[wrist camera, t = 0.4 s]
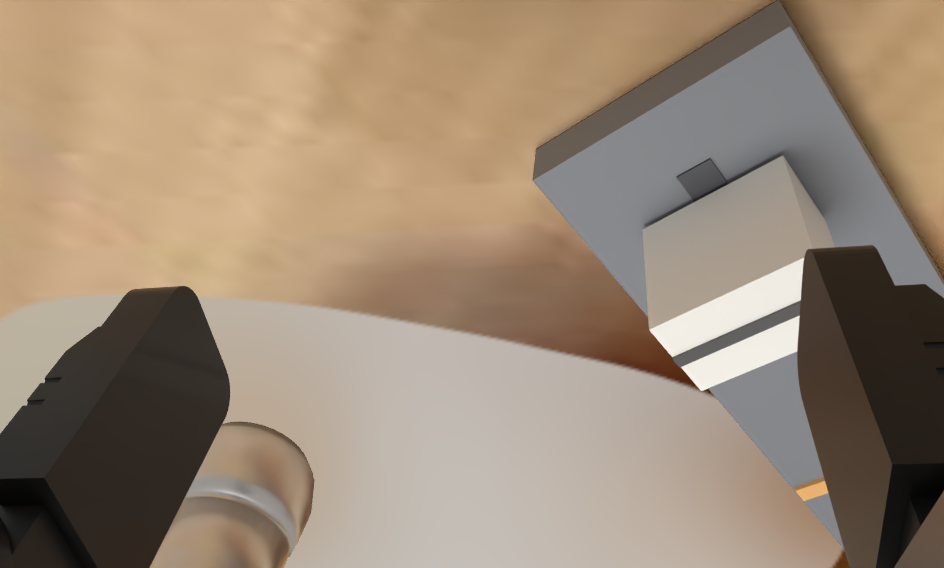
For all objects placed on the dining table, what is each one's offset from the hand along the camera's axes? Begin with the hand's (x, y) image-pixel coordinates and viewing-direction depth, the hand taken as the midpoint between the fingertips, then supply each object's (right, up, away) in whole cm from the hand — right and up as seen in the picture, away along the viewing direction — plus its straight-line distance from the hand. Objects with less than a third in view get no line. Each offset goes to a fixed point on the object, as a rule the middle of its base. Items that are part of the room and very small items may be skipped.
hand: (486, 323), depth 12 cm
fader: (+8, +2, +17) cm, 19 cm away
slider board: (+13, -1, +22) cm, 26 cm away
